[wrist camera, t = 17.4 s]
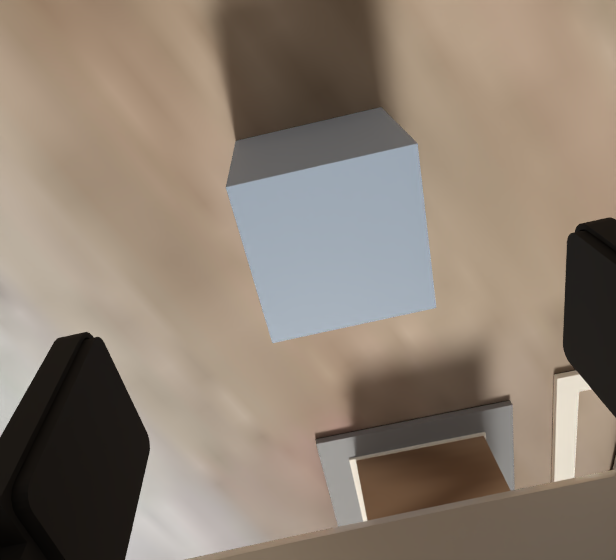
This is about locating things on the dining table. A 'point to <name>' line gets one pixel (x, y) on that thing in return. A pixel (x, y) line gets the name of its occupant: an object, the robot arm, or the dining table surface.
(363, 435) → the gray bordered square plate
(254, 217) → the slate cube
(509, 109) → the dining table surface
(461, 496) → the walnut block
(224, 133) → the dining table surface
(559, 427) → the frame
